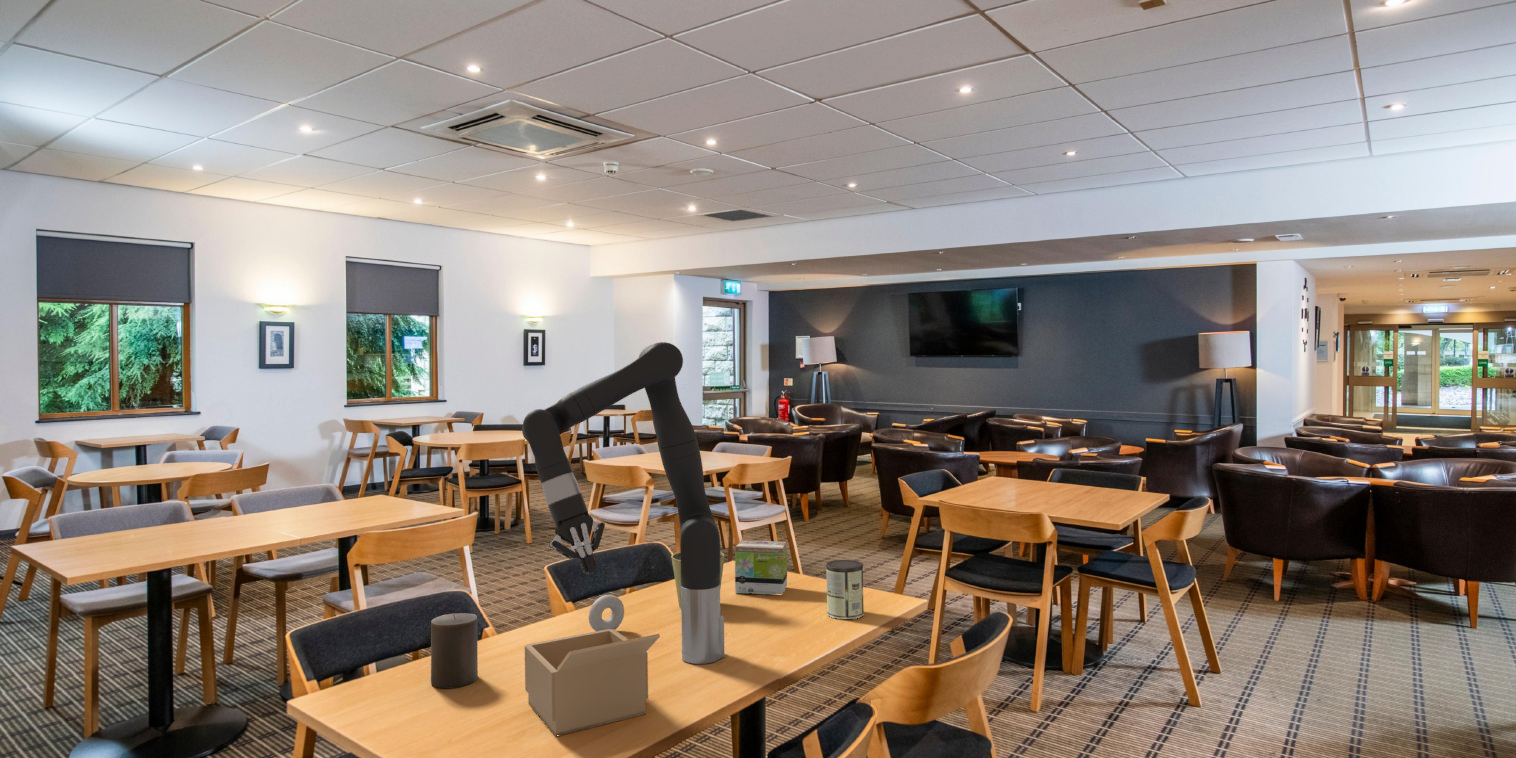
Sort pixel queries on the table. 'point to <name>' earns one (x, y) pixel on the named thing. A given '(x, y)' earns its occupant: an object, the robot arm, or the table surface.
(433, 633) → the pillar candle
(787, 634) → the table surface
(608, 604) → the donut
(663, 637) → the table surface
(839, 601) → the coffee can
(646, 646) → the carton flap
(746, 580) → the tea box
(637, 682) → the carton
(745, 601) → the table surface
